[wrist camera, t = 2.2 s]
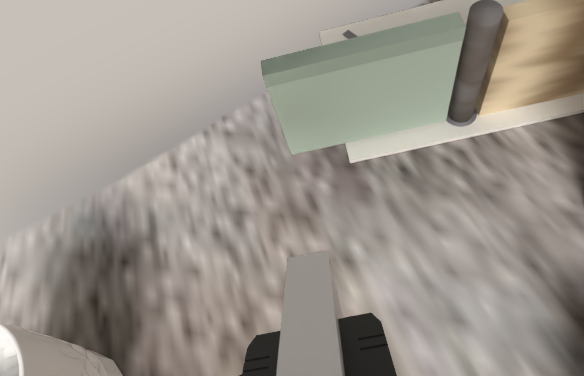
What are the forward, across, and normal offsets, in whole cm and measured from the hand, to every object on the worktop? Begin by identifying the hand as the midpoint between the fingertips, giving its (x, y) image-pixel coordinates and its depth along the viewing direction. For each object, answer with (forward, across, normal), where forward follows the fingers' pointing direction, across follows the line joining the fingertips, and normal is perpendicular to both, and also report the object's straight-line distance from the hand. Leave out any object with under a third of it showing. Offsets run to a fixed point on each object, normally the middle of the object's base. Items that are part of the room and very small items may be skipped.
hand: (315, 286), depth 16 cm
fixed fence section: (+19, +18, +1) cm, 26 cm away
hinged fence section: (+19, +5, +2) cm, 20 cm away
